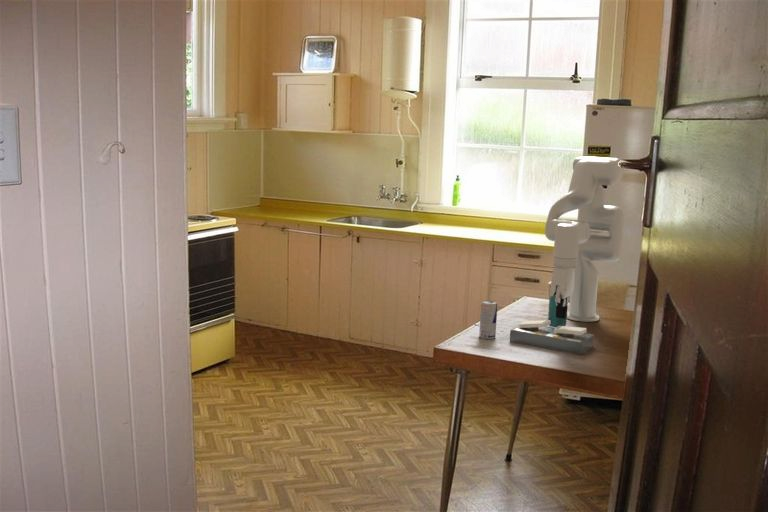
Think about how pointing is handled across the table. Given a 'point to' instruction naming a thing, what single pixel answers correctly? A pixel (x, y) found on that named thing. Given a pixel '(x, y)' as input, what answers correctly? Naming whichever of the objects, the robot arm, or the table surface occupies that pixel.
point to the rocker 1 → (534, 324)
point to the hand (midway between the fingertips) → (561, 317)
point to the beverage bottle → (554, 314)
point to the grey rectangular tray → (552, 339)
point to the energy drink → (488, 319)
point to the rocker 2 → (570, 330)
